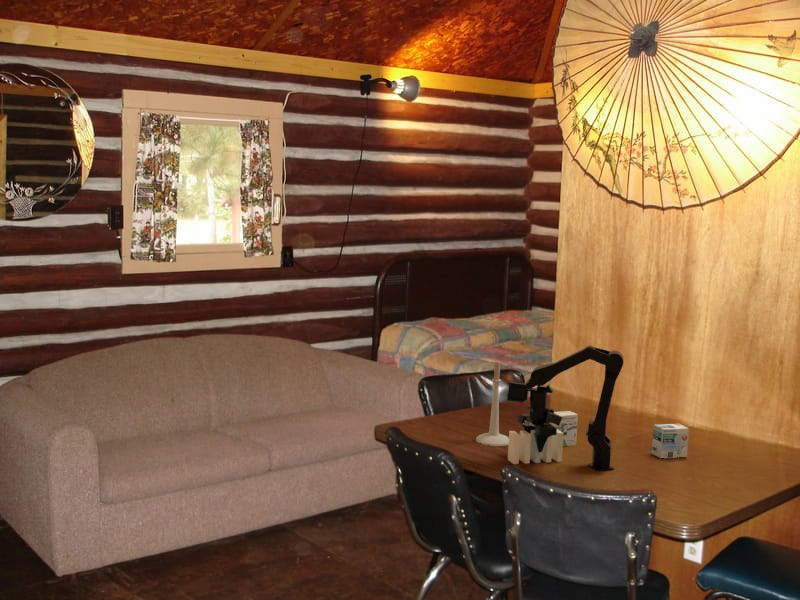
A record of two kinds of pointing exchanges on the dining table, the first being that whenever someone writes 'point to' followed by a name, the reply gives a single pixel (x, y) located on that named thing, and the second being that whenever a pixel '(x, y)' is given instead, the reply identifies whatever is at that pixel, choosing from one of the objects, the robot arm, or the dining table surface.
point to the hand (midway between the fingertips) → (535, 449)
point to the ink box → (568, 427)
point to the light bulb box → (670, 440)
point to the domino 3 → (534, 449)
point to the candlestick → (494, 417)
